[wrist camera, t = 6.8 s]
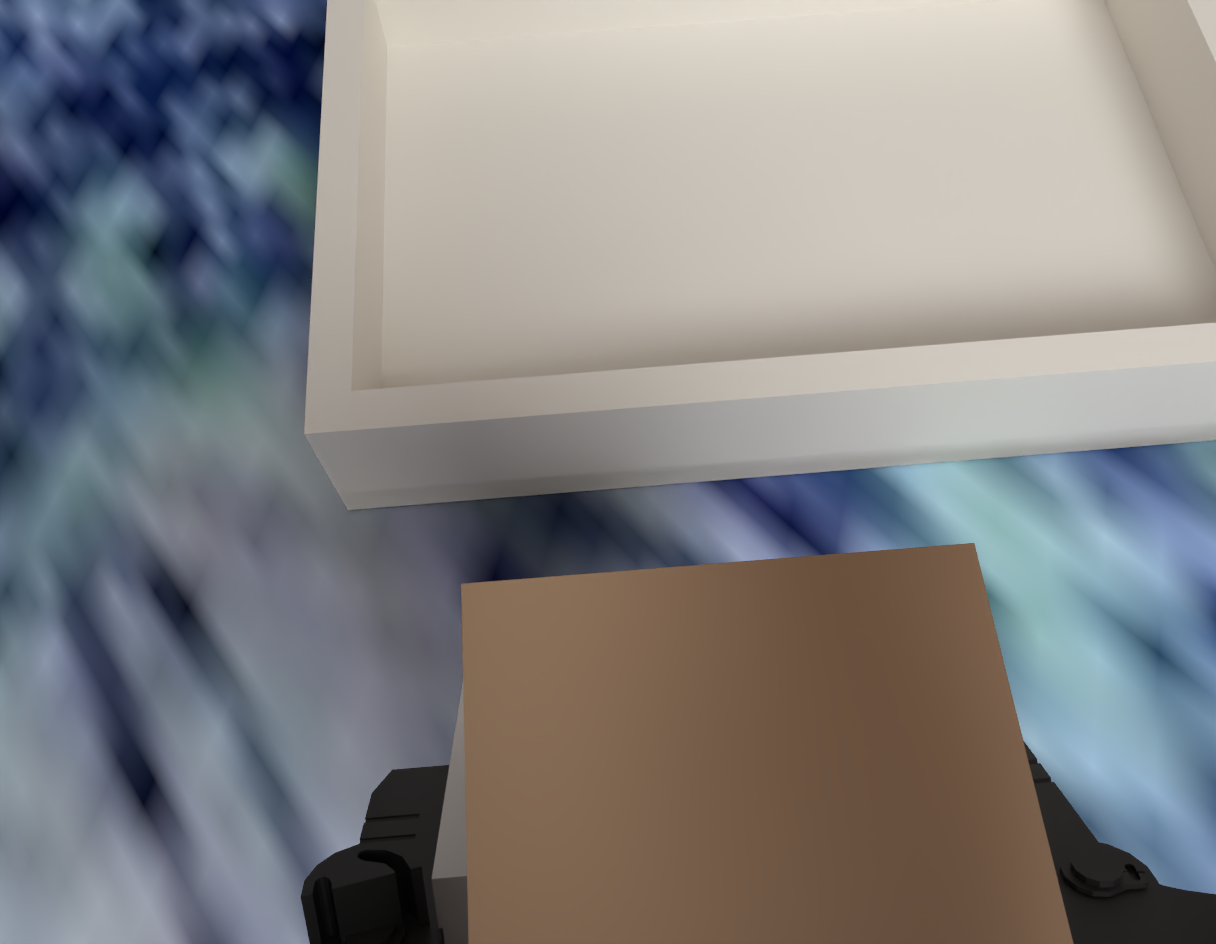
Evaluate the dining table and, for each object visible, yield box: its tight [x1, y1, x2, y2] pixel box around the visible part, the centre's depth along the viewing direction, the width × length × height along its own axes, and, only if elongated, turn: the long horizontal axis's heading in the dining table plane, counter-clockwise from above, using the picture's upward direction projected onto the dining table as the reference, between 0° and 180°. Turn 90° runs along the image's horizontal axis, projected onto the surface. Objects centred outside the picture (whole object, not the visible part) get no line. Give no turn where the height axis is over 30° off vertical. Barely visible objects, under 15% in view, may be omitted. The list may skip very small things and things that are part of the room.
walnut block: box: [461, 543, 1073, 944], centre depth 15 cm, size 5×5×12 cm
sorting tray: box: [304, 0, 1216, 510], centre depth 29 cm, size 24×16×4 cm, turn 95°
